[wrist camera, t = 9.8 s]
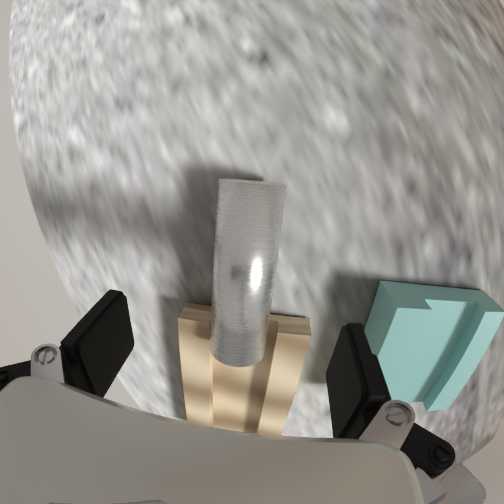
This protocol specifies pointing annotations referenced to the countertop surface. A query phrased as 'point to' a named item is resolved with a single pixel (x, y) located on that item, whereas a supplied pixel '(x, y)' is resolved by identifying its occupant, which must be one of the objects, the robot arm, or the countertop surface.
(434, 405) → the cradle
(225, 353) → the axle
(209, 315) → the wooden grooved block
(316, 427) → the countertop surface
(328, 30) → the countertop surface
